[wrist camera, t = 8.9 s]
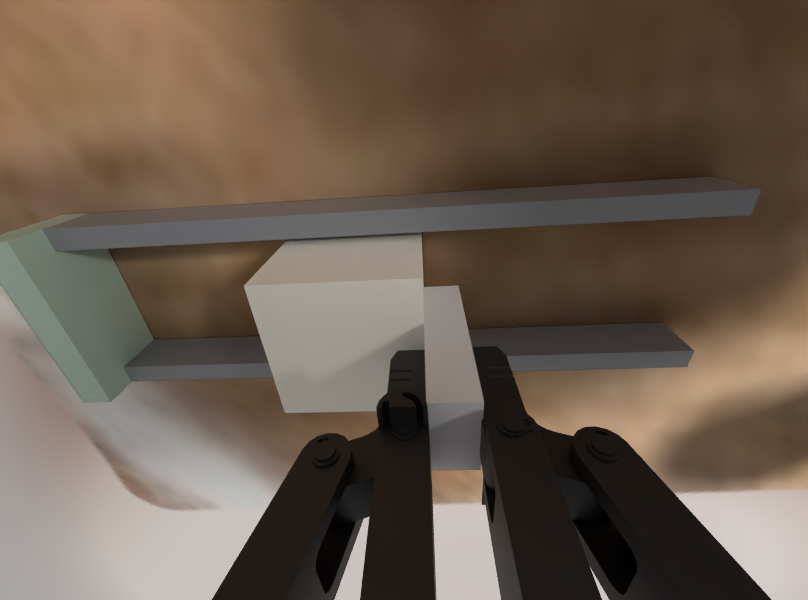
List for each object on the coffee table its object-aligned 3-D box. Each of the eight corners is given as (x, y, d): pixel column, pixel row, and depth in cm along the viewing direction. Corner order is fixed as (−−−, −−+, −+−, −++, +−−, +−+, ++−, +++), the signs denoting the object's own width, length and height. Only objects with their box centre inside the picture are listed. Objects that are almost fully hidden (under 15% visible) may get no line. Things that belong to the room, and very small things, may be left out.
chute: (61, 214, 17) (-29, 243, 14) (713, 176, 15) (799, 198, 12) (137, 353, 22) (83, 402, 18) (657, 337, 20) (708, 388, 16)
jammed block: (297, 229, 17) (243, 286, 12) (421, 222, 17) (421, 278, 11) (319, 331, 20) (284, 413, 15) (425, 327, 20) (427, 410, 14)
